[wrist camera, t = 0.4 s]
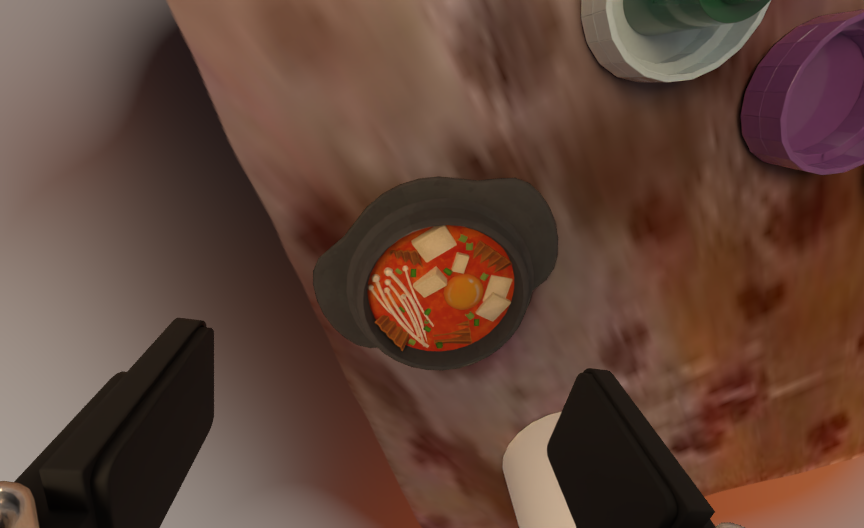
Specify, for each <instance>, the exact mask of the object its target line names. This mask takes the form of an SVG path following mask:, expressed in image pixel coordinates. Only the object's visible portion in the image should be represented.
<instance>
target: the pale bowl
mask: <svg viewBox="0 0 864 528" xmlns="http://www.w3.org/2000/svg"><path fill="white" fill-rule="evenodd" d="M770 2H771V0H770V1H769V2H768V3H767V4H766V6H765V7H763V8H762V9H761V10H760V11H759V12H757V13H756V14H755V15H753V16H751V17H750V18H748V19H746V20H743V21H740V22H737V23H731V24H725V25H719V26H713V27H707V28H701V29H695V30H689V31H683V32H677V33H671V34H665V35H659V36H644V35H641V34H639V33H637V32H635V31H634V30H633V29H632V28H631V27H630V25H629V24H628V22H627V20H626V18H625V15H624V10H623V0H582V3H581V20H582V24H583V29H584V33H585V37H586V41H587V44H588V46H589V48H590V49H591V51H592V52H593V54H594V56H595V57H596V59H597V60H598V62H599V63H600V65H602V66H603V67H604V68H606V69H607V70H608V71H610V72H611V73H612V74H614V75H615V76H617V77H619V78H623V79H627V80H631V81H635V82H676V81H684V80H692V79H695V78H697V77H699V76H701V75H703V74H705V73H708V72H710V71H712V70H714V69H716V68H718V67H719V66H720V65H722V64H723V63H724V62H725V61H726V60H728V59H729V58H730V57H731V56H733V55H734V54H735V53H736V52H737V51H739V50H740V49H741V48H742V47H743V45H744V44H745V43H746V41H747V40H748V39H749V37H750V36H751V35H752V33H753V32H754V31H755V30H756V28H757V27H758V26H759V24H760V23H761V21H762V19H763V17H764V15H765V12H766V10H767V8H768V6H769V4H770Z"/></svg>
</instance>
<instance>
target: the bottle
mask: <svg viewBox="0 0 864 528" xmlns="http://www.w3.org/2000/svg"><path fill="white" fill-rule="evenodd" d="M769 1H770V0H623V10H624V15H625V18H626V20H627V22H628V24H629V25H630V27H631V28H632V29H633V30H634V31H635V32H637V33H639V34H641V35H644V36H659V35H665V34H671V33H677V32H683V31H689V30H695V29H701V28H707V27H713V26H719V25H725V24H731V23H737V22H740V21H743V20H746V19H748V18H750V17H751V16H753V15H755V14H756V13H757V12H759V11H760V10H761V9H762V8H763V7H765V6H766V4H767V3H768V2H769Z"/></svg>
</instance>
